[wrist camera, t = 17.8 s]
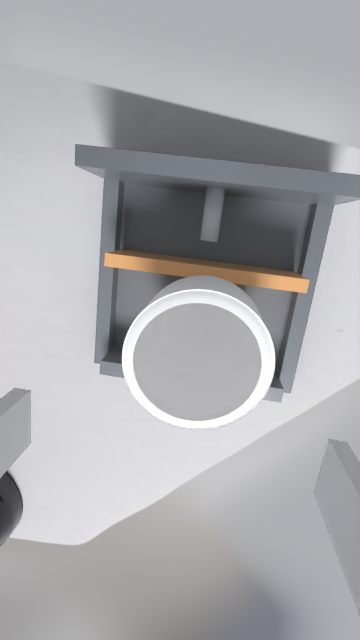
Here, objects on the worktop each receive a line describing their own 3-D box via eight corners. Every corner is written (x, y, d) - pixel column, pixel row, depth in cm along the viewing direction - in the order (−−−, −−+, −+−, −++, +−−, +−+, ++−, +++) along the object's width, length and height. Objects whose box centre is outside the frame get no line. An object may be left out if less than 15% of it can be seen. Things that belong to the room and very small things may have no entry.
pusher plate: (291, 282, 35) (306, 293, 29) (122, 260, 36) (104, 266, 31) (294, 271, 35) (309, 279, 29) (122, 249, 36) (104, 252, 30)
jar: (230, 248, 35) (239, 261, 21) (267, 335, 37) (299, 402, 23) (141, 289, 37) (93, 327, 23) (180, 369, 39) (159, 450, 25)
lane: (285, 381, 39) (307, 430, 30) (103, 353, 41) (67, 391, 31) (327, 191, 34) (372, 176, 24) (114, 167, 35) (75, 144, 26)
